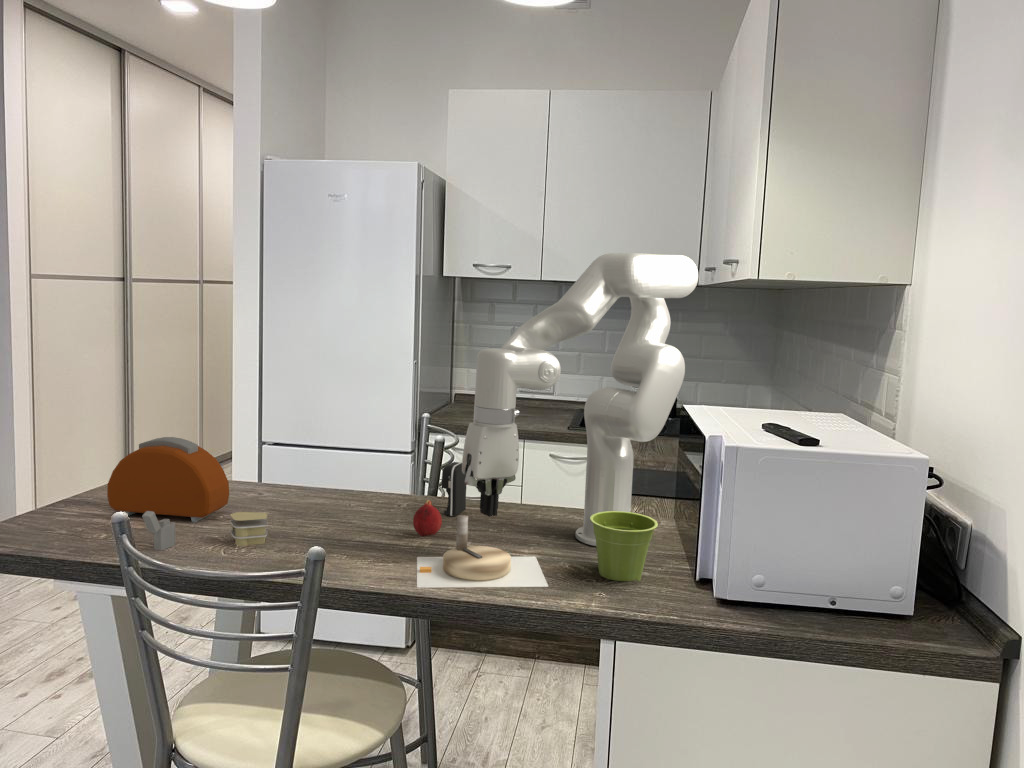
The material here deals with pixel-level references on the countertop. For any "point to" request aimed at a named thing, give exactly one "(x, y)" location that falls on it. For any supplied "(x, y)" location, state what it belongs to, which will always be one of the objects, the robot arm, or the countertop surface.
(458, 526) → the capstan dial
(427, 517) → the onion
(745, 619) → the countertop surface
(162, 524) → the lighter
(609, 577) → the plant pot
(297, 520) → the countertop surface
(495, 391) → the robot arm
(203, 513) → the orange toaster
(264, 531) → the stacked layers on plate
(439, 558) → the stand
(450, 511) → the battery charger
